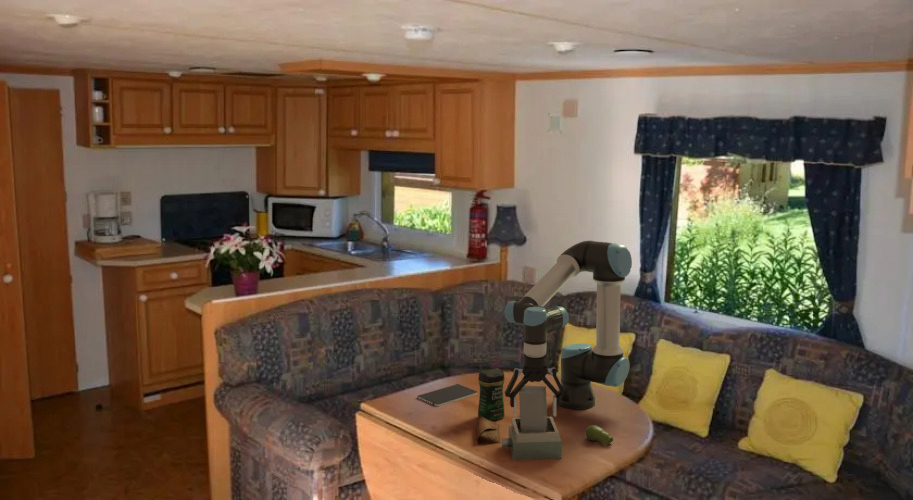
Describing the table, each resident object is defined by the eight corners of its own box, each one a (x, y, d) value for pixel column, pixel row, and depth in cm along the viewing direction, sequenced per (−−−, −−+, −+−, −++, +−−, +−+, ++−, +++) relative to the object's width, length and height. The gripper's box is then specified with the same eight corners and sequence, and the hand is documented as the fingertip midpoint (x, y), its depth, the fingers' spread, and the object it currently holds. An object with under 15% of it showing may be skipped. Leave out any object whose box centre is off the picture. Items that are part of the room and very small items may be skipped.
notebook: (458, 387, 337) (417, 399, 323) (458, 383, 337) (417, 395, 323) (478, 395, 327) (437, 408, 314) (478, 391, 327) (437, 404, 314)
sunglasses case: (502, 443, 279) (492, 428, 278) (484, 453, 279) (474, 438, 278) (499, 423, 296) (490, 408, 295) (483, 433, 297) (473, 418, 296)
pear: (592, 420, 284) (617, 432, 278) (589, 434, 285) (614, 446, 279) (583, 425, 280) (608, 437, 274) (581, 439, 281) (606, 451, 275)
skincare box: (547, 430, 274) (547, 385, 272) (543, 438, 268) (544, 392, 265) (523, 427, 277) (523, 383, 274) (518, 435, 270) (518, 390, 267)
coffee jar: (486, 423, 296) (486, 375, 293) (474, 417, 303) (474, 369, 300) (508, 418, 302) (508, 370, 298) (496, 411, 308) (495, 364, 305)
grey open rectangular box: (554, 441, 280) (554, 416, 279) (561, 458, 267) (561, 432, 265) (500, 442, 280) (500, 418, 278) (504, 460, 266) (504, 434, 264)
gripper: (570, 349, 271) (569, 410, 275) (496, 351, 270) (496, 412, 274) (574, 356, 264) (573, 418, 268) (498, 358, 263) (498, 420, 267)
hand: (534, 415), depth 271 cm, fingers open, 13 cm apart
